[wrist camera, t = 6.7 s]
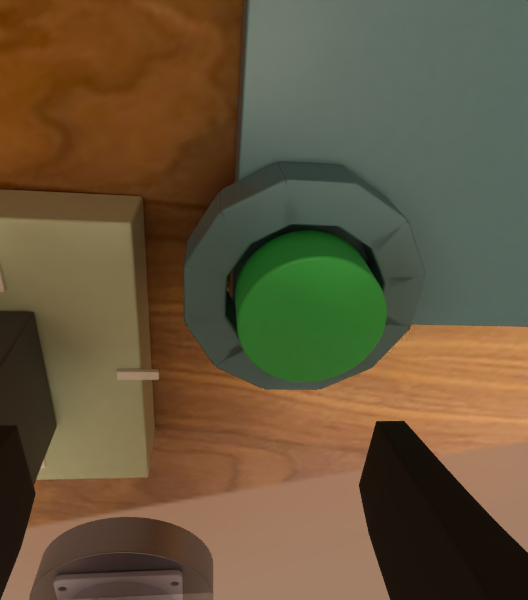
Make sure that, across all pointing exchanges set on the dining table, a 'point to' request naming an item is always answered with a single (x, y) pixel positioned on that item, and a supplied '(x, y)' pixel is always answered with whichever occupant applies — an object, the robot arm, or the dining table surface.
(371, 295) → the light button
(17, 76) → the dining table surface
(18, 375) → the dimmer knob
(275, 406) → the dining table surface
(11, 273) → the dimmer panel
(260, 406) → the dining table surface
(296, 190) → the switch box
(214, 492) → the dining table surface
